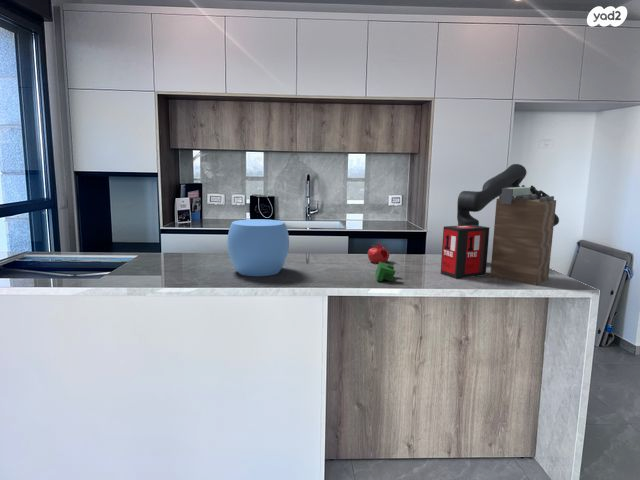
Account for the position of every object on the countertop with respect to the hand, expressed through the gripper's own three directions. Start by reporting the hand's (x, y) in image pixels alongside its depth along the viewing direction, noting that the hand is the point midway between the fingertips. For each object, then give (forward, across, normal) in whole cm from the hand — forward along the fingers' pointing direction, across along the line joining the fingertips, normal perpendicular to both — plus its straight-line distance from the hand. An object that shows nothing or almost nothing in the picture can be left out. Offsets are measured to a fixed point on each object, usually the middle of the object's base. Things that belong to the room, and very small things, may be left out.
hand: (527, 187), depth 195 cm
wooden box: (-8, +4, +38) cm, 39 cm away
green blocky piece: (+29, -32, +59) cm, 73 cm away
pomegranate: (+8, -53, +47) cm, 71 cm away
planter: (+54, -75, +73) cm, 118 cm away
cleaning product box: (+2, -14, +43) cm, 46 cm away
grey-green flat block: (+5, 0, +6) cm, 8 cm away
